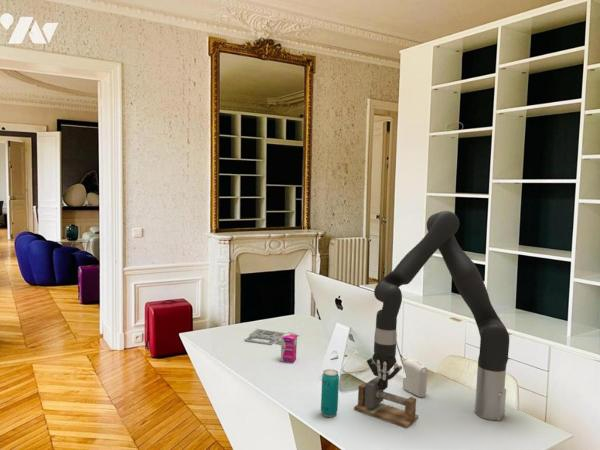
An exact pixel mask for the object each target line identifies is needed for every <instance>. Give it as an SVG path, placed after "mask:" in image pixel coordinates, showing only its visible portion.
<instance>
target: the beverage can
mask: <svg viewBox="0 0 600 450" xmlns="http://www.w3.org/2000/svg"><path fill="white" fill-rule="evenodd" d="M339 381H340V376H339V371H338V370H335V369H333V368H332V369H329V368H327V369H324V370H323V373H322V375H321V396H320V397H321V399H320V411H321V413H322V416H324V417H326V418H334V417H335V416H336V414H337V413H338V409H339V408H338V407H339V385H340V384H339V383H340V382H339Z"/></svg>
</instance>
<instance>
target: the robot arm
mask: <svg viewBox="0 0 600 450" xmlns="http://www.w3.org/2000/svg"><path fill="white" fill-rule="evenodd" d="M459 227H460V220H459V217H458V216H457V214H456V213H454V212H453V211H450V210H444V211H439V212H436V213H434V214H431V215H430V216H429V217H428V218H427V221H426V230H427V233H426V235H424V237H423V238H422V239H421V240H420V241H419V242H418V243H417V244H416V245H415V246H413V248H411V250H409V251H408V252H407V253H406V254H405V255H404V257H402V258H401V260H400V261H399V263H398V264H397V265H396V266H395V267H394V269H393V270H392V271H390V272H389V273H387V275H385V276H384V277H383V278H382V279H381V280H379V282H378V283H376V285H375V287H374V289H373V290H374V291H373V292H374V298H375V299H376V300H377V301H379V302H380V303H382V308H381V309H379V310H378V311H376V317H375V318H376V319H375V330H374V337H373V338H374V342H373V354H372V357H370V358H368V359H367V360H366V363H367V364H368V367H369V368H370V370H371V372H372V374H373V375H374V376H376V377H378V378H379V387H380V389H381V390H384V391H385V390H387V388H388V386H389V384H388V383H389V381H390V380H392V379H394V377H395V376H396V375H397V374H398V373H400V372H401V370H402V369H403V367H402V365H399V364H398V363H397V359H396V355H397V337H398V334H397V322H398V321H397V320H398V315H399V312H400V309H401V305H402V301H403V294H402V290H401V289H400V287H401V286H404V285H409V284H410V283H411V282H412V281H413V280H414V279H415V277H416V276H417V275H418V274H419V272H420V270H422V268H423V267H424V266H425V264H427V262H428V261H429V259H430V258H431V257H432V256H433V255H435V252H436V251H438V250H439V253H440V255H441V256H442V259H443V261H444V263H445V265H446V267H447V270H448V273H449V274H450V276H451V279H452V281H453V282H454V285H455V287H456V290H457V291H458V293H459V295H460V296H461V298H462V299H463V301H464V302H465V305H467V307H468V308H469V309H470V311H471V313H472V316H473V318H474V321H475V323H476V326H477V329H478V334H479V337H480V340H479V342H480V343H479V344H480V345H479V355H478V358H477V359H478V360H477V373H476V385H475V386H476V387H475V388H476V389H475V402H474V403H475V404H474V413H475V415H476V416H478V417H479V418H482V419H485V420H490V421H498V422H501V420H502V419H503V418H504V416H505V411H506V397H507V389H506V373H507V365H508V360H509V353H510V352H509V349H510V334H509V332H508V330H507V328H506V326H505V324H504V323H503V322H502V320H501V318H500V317H499V315H498V314H497V312H496V310H495V309H494V306H493V304H492V303H491V300H490V297H489V293H488V290H487V287H486V285H485V282H484V280H483V277H482V275H481V273H480V271H479V268H477V265H476V264H475V263H474V261H473V260H472V259H471V258H470V257H469V256H468V255H467V254H466V252H465V251H464V250H463V249H462V248H461V246H460V245H459V242H458V241H457V239H456V236H455V234H456V233H457V232H458V230H459ZM391 369H392V370H393V371H392V372H391ZM390 372H391V373H390Z"/></svg>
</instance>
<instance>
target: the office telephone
mask: <svg viewBox="0 0 600 450" xmlns="http://www.w3.org/2000/svg"><path fill="white" fill-rule="evenodd" d="M284 334H294V335H297V338H298V337H299V336H300V335H299V334H296V333H295V332H293V331H292V332H291V331H288V332H283V331H282V332H281V331H273V330H266V329H261V328H256V329H255V330H253V331H252V332H251V333H250V334H249V336H248V337H246V338H244V342H246V343H251V344H260V345H266V346H272V345H274V344H275V345H276V346H277V345H278V346H281V344H282V336H283V335H284ZM254 339H255V340H254ZM256 339H258V340H266V341H258V340H256Z"/></svg>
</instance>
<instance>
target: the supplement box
mask: <svg viewBox="0 0 600 450" xmlns="http://www.w3.org/2000/svg"><path fill="white" fill-rule="evenodd" d="M297 335H298V334H296V335H294V334H284V335H283V336H282V344H281V345H280V347H281V349H280V351H281V352H280V362H281V363H288V364H294V362H295V361H296V360H297V348H298V347H297V344H298V341H297V340H298V337H297Z"/></svg>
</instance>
